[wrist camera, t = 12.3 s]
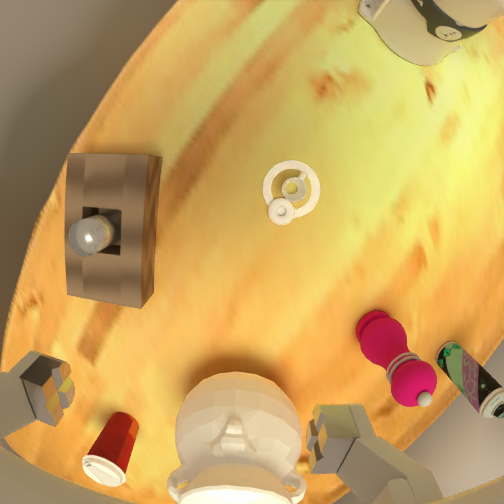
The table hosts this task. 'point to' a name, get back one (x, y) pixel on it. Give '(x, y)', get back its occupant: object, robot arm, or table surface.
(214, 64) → the table surface
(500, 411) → the spray can
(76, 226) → the pin
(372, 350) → the pepper mill
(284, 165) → the teacup and saucer
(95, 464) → the coffee cup
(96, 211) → the socket block
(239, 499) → the pitcher
